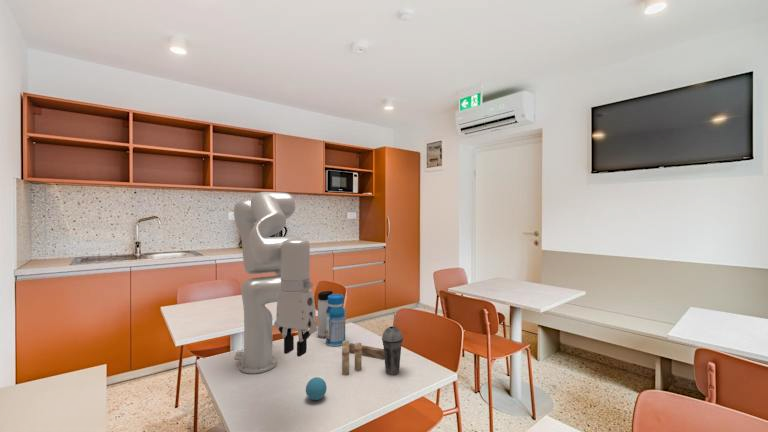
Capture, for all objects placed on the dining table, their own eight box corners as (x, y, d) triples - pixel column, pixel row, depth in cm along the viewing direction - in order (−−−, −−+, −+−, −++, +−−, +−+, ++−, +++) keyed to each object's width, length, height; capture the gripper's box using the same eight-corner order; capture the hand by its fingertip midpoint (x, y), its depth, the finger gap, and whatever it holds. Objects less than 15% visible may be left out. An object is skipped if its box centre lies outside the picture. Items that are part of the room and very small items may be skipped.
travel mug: (329, 339, 145) (329, 293, 145) (315, 337, 147) (315, 292, 146) (334, 334, 151) (334, 290, 151) (321, 332, 153) (321, 289, 153)
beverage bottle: (336, 348, 135) (336, 299, 135) (321, 344, 140) (321, 296, 140) (349, 341, 142) (349, 295, 142) (334, 337, 147) (334, 292, 147)
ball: (302, 403, 96) (302, 382, 96) (310, 392, 102) (310, 372, 102) (322, 405, 95) (322, 384, 95) (329, 394, 101) (329, 374, 101)
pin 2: (353, 370, 116) (353, 345, 116) (355, 367, 118) (355, 342, 118) (360, 371, 115) (360, 345, 115) (362, 368, 118) (362, 342, 118)
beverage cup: (377, 372, 115) (377, 314, 115) (391, 365, 120) (391, 310, 120) (393, 379, 110) (393, 319, 110) (407, 371, 115) (407, 314, 115)
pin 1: (341, 368, 118) (341, 342, 118) (343, 365, 120) (343, 340, 120) (348, 368, 117) (348, 343, 117) (350, 365, 120) (350, 340, 120)
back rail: (387, 357, 126) (387, 349, 126) (385, 359, 125) (385, 351, 125) (350, 350, 133) (350, 343, 133) (347, 352, 131) (347, 344, 131)
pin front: (341, 375, 113) (341, 348, 113) (343, 371, 115) (343, 345, 115) (348, 375, 112) (348, 349, 112) (350, 372, 115) (350, 346, 115)
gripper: (329, 285, 90) (329, 353, 90) (280, 280, 96) (280, 343, 96) (312, 291, 83) (312, 364, 83) (261, 285, 89) (261, 353, 89)
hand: (295, 352), depth 90 cm, fingers open, 3 cm apart
